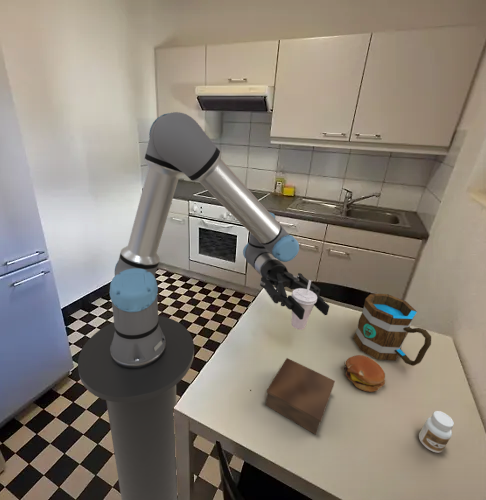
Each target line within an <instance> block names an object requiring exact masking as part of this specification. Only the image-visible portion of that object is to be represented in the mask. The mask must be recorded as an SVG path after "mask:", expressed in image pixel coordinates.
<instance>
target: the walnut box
mask: <svg viewBox="0 0 486 500" xmlns="http://www.w3.org/2000/svg"><path fill="white" fill-rule="evenodd" d="M335 382H336V380H334V379H332V378H330V377H328V376H325V375H324V374H322V373H320V372H317V371H315V370H314V369H311V368H309V367H307V366H306V365H303V364H301V363H298V362H297V361H294V360H293V359H290V358H288V357H286V358H285V360H284V362H283V364H282V365H281V366H280V368H279V370H278V372H277V373H276V375H275V376H274V378H273V379H272V381H271V383H270V385H269V386H268V388H267V390H266V393H267V394H266V401H265V406H266V407H268V408H270V409H271V410H273V411H274V412H276V413H278V414H279V415H282V416H283V417H285V418H286V419H288V420H290V421H291V422H292V423H295V424H297V425H298V426H300V427H301V428H303V429H305V430H307V431H309V432H310V433H312V434H314V435H315V436H316V435H317V433H318V430H319V427H320V424H321V423H322V420H323V417H324V414H325V412H326V408H327V405H328V402H329V400H330V397H331V394H332V391H333V389H334V385H335V384H336V383H335Z"/></svg>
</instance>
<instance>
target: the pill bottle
mask: <svg viewBox="0 0 486 500" xmlns="http://www.w3.org/2000/svg"><path fill="white" fill-rule="evenodd" d="M454 425H455V423H454V420H453V419H452V417H451V416H450V415H448V414H447V413H445V412H443V411H441V410H435V411H433V413H432V414H431V416H429V417H427V418H426V420H425V422H424V424H423V426H422V428H421V430H420V432H419V433H418V439H419V441H420V443H421V444H422V445H423V446H424V447H425V448H426V449H427V450H429V451H431V452H433V453H439V454H440V453H442V452H443V451H444V449H445V448H446V446H447V445H448V443H449V441H450V439H451V437H452V436H453V431H452V429H453V427H454Z"/></svg>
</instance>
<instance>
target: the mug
mask: <svg viewBox="0 0 486 500" xmlns="http://www.w3.org/2000/svg"><path fill="white" fill-rule="evenodd" d="M417 313H418V311H417V310H416V309H415V308H414V307H412V305H411V304H409V302H407V301H406V300H404V299H401V298H398V297H396V296H394V295H391V294H389V293H377V292H376V293H375V292H374V293H373V292H371V293H370V294H369V295H367V297H366V298H365V299H364V305H363V309H362V312H361V313H360V317H359V318H358V323H357V327H356V330H355V333H354V335H353V337H352V340H353V341H354V343H355V345H356V346H357V348H358V349H359V351H361V352H363V353H364V354H365V355H366V354H367V355H368V356H370V357H372V358H374V359H376V361H393V362H395V361H397V359H398V357H400V358H401V360H402V361H403V362H404V363H405V364H406V365H408V366H409V365H410V366H412V367H413V366H416V365H419V364H420V363H421V362H422V361H423V360H424V358H425V355H426V353H427V351H428V350H429V348H430V347H431V345H432V335H431V334H430V333H429V332H428V331H427V330H426V329H424V328H421V327H414V328H413V327H411V324H412V322H413V320H414V318H415V316H416V315H417ZM414 333H418V334H421V335H422V337H423V338H424V343H423V345H422V347H421V348H420V349H419V351H418V353H417V355H416V357H415V359H414V360H412V359H410V357H409V356H408V355H407V354H406V353H405V352H404V351H403V350H402V346H403V344H404V341H405V340H406V338H407V336H408V334H414Z"/></svg>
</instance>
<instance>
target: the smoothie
mask: <svg viewBox="0 0 486 500" xmlns="http://www.w3.org/2000/svg"><path fill="white" fill-rule="evenodd" d="M308 280H309V282H308V287H307V289H303V288H298V289H295V290H294V289H293V290H292V292H291V296H292V297H293V298H294V299H295V300H296V301H297V302H298V303H299V304H300V305H301V306H302V307H303V309H304V310H305V312H304V316H303V319H301V320H300V319H299V318H298V317H297V316H296V314H295V313H294V312H293V311H292V310H291V320H290V321H291V323H290V324H291V326H292V328H294V329H295V330H304V329H306V326H307V324H308V322H309V319H310V316H311V314H312V311H313V308H314V307H315V306H314V304H315V303H316V302H317V295H316V294H315V293H314V292H312V291H310V290H309V288H310V284H311V283H312V280H311V279H308Z"/></svg>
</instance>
